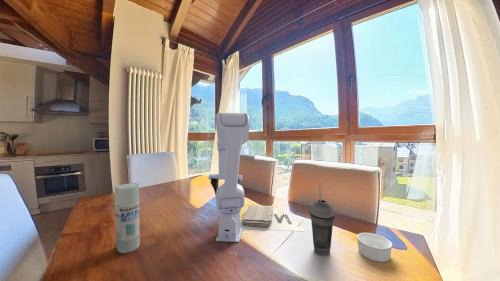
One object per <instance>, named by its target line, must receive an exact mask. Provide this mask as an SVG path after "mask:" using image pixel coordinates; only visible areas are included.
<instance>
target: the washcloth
mask: <svg viewBox="0 0 500 281" xmlns="http://www.w3.org/2000/svg"><path fill="white" fill-rule="evenodd" d="M247 208H248V209H247V211H246V210H245V212H246V213H245V212H244V215H243V217H242V218H241V225H243V226H255V227H270V226H271V223H272V216H273V208H274V206H273V205H254V204H253V205H248V207H247ZM242 222H243V223H242Z"/></svg>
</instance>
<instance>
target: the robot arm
mask: <svg viewBox="0 0 500 281" xmlns="http://www.w3.org/2000/svg"><path fill="white" fill-rule="evenodd" d="M215 121H216V122H215V129H216V136H217V141H216V145H217V146H216V147H217V148H216V149H217V151H218V152H217V153H218V173H217V174H216V173H215V174H214V173H213V174H211V173H210V174H209V175H208V180H209V181H210V185H211V186H212V188H213V190H214V195H215V206H216V209H217V211H219V214H220V215H219V216H220V218H219V221H218V226H217V227H218V234H217V236H216V238H215V241H216V242H225V243H226V242H232V243H239V242H240V240H241V237H242V232H243V230H244V229H243V228H242V227H241V211H242V208H244V206H245V200H246V199H245V190H244V188H243V186H242V185H241V184H240V182H241V181H242V180H243V174H239V170H240V163H241V162H240V161H241V160H240V159H241V151H242V148H243V145H244V144H245V143H247V142H248V139H249V136H250V116H249V114H248V113H247V112H244V113H240V112H239V113H238V112H237V113H236V112H235V113H234V112H217V113H216V117H215ZM219 180H222V181H223V182H224V183H223V184H221V185H219Z"/></svg>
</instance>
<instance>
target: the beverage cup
mask: <svg viewBox="0 0 500 281" xmlns="http://www.w3.org/2000/svg"><path fill="white" fill-rule="evenodd" d="M318 196H319V199H318V200H315V201H314V202H313V203H312V204H311V206H310V209H309V216H310V221H311V232H312V243H313V250H314V253H316V254H317V255H319V256H321V257H325V256H329V255H330V253H331V247H332V238H333V237H332V236H333V228H334V227H333V226H334V221H335V217H336V214H335V211H334V208H333V205H332V204H330V202H328V201H326V200H323V199H322V189H321V185H320V184H319V185H318Z"/></svg>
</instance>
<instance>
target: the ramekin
mask: <svg viewBox="0 0 500 281" xmlns="http://www.w3.org/2000/svg"><path fill="white" fill-rule="evenodd" d="M356 240H357V247H358V252H359V253H360V254H361V255H362V256H363V257H365V258H366V259H368V260H371V261H373V262H379V263H380V262H381V263H384V262H385V263H386V262H389V261H390V259H391V258H392V257H391V256H392V249H393V243H392V241H391V240H389V239H388V238H386V237H385V236H382V235H379V234H376V233H372V232H360V233H358V234H357V235H356Z"/></svg>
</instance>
